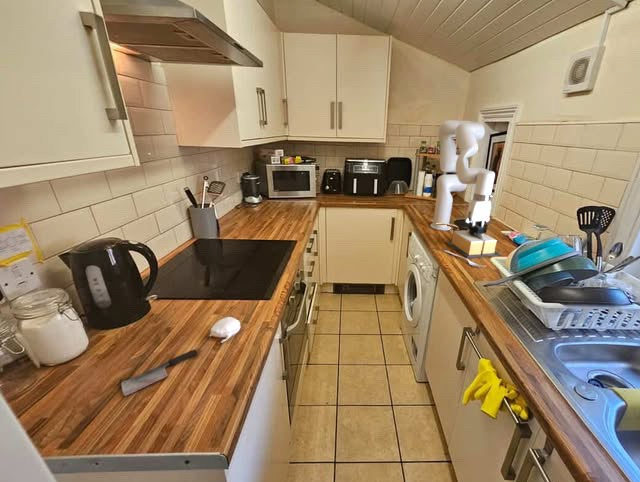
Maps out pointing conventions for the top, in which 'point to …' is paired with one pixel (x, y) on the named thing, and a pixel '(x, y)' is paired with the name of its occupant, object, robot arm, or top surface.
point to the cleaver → (151, 375)
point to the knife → (477, 231)
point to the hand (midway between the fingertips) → (474, 233)
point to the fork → (466, 259)
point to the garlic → (225, 328)
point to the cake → (473, 245)
